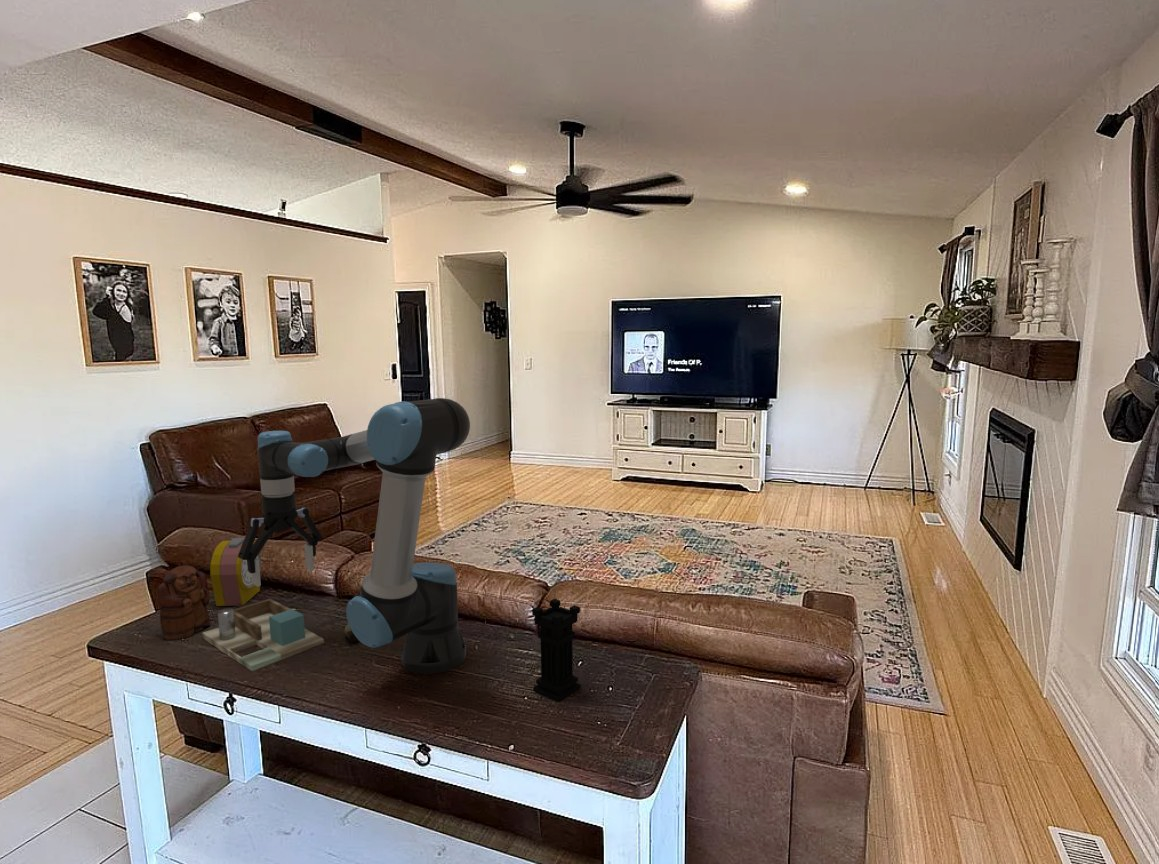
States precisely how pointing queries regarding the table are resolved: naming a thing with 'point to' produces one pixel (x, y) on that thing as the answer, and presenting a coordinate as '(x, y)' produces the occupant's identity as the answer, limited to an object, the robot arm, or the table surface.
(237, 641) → the board
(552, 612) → the chess piece
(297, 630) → the block
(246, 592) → the alarm clock
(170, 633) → the wooden figurine
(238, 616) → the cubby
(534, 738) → the table surface
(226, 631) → the grey knob
